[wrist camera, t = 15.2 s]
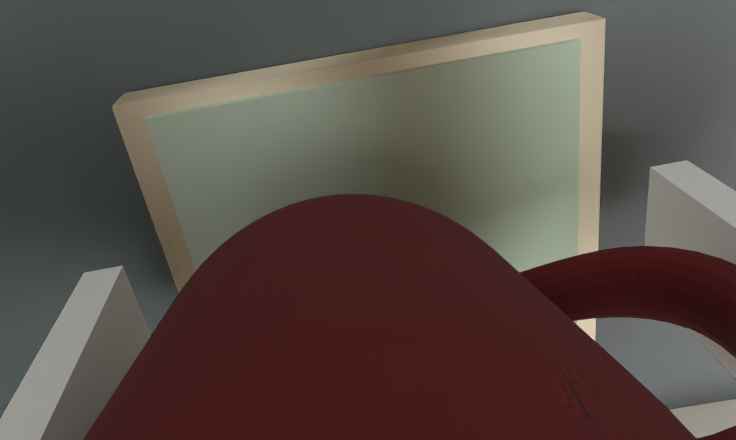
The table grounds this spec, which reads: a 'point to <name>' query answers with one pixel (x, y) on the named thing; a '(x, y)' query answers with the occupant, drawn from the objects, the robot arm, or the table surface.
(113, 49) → the table surface
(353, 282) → the mug
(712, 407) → the die
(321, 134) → the board
